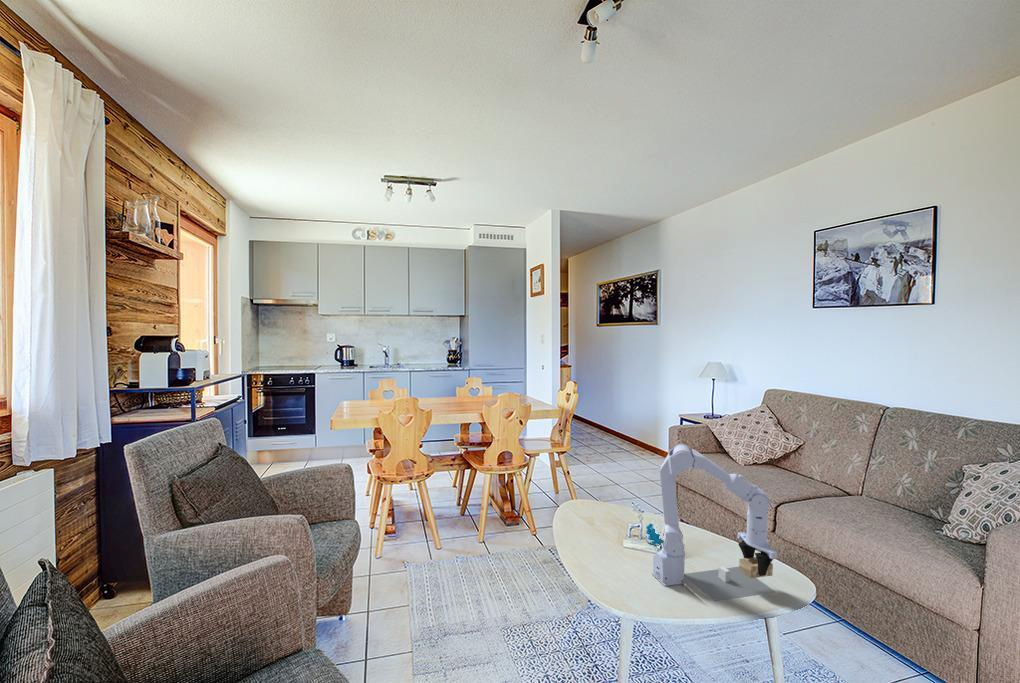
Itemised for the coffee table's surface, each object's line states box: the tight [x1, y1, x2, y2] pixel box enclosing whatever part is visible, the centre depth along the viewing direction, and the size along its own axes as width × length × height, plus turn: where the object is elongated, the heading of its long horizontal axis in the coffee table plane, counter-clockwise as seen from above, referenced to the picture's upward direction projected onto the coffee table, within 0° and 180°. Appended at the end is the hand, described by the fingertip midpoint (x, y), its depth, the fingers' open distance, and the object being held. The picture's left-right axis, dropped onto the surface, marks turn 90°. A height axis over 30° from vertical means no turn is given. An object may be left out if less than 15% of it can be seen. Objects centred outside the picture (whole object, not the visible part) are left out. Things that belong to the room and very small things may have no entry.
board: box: [684, 565, 777, 602], centre depth 152 cm, size 22×16×4 cm
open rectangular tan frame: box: [738, 556, 774, 579], centre depth 148 cm, size 8×5×4 cm, turn 104°
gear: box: [645, 523, 663, 546], centre depth 181 cm, size 11×6×10 cm
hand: (755, 570), depth 148 cm, fingers closed on open rectangular tan frame, 5 cm apart
